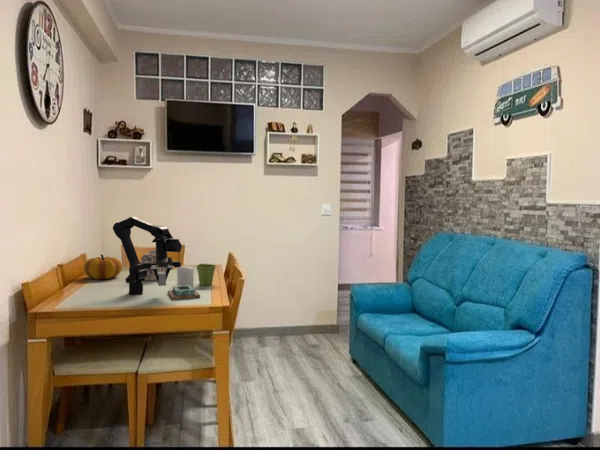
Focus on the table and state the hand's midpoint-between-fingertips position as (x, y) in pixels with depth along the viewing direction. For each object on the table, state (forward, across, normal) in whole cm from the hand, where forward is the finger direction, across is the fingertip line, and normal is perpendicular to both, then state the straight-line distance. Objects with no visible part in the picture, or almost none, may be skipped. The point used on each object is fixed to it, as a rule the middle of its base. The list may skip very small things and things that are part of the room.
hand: (161, 281), depth 233 cm
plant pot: (+8, +28, +24) cm, 38 cm away
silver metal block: (+2, 0, 0) cm, 2 cm away
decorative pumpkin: (+8, -28, +64) cm, 70 cm away
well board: (+8, +11, -2) cm, 14 cm away
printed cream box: (+8, +15, +18) cm, 25 cm away
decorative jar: (+8, +1, +52) cm, 53 cm away
